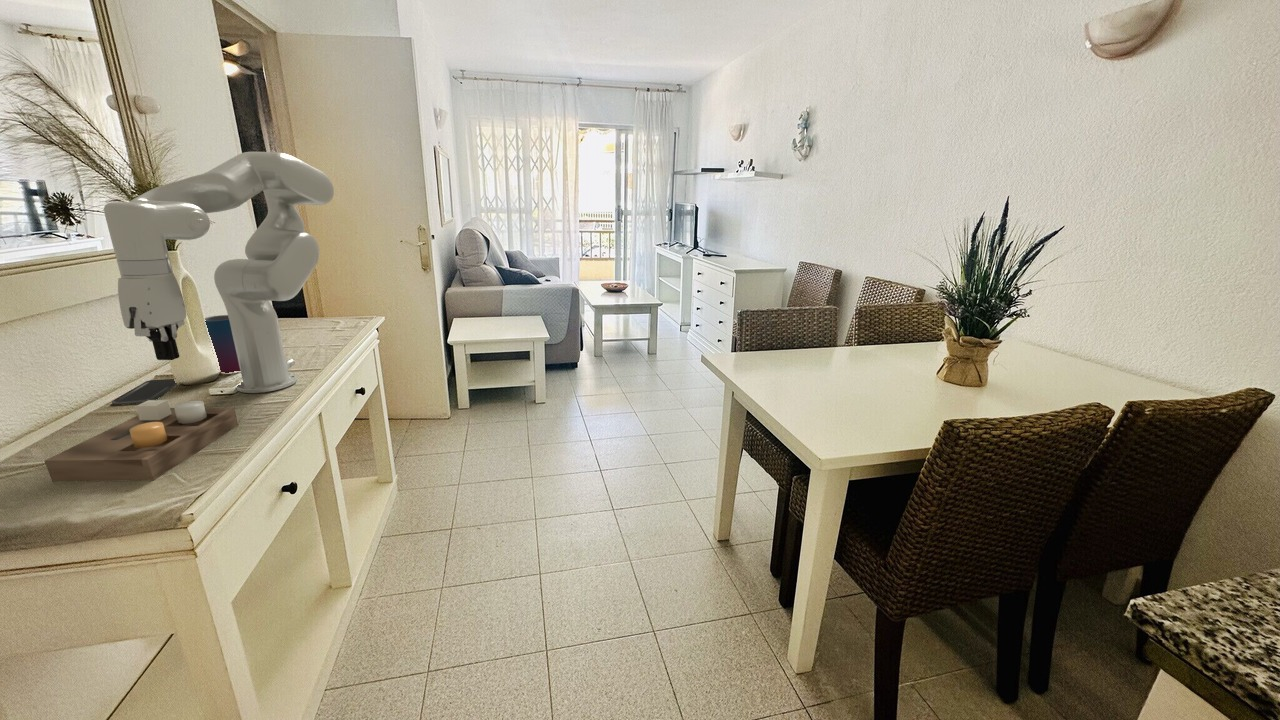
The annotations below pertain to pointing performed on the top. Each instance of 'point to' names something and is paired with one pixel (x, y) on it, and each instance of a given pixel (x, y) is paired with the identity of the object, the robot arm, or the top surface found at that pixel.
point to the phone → (146, 392)
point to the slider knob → (153, 410)
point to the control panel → (138, 449)
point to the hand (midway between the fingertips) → (168, 358)
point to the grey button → (190, 412)
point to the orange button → (148, 434)
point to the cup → (223, 342)
